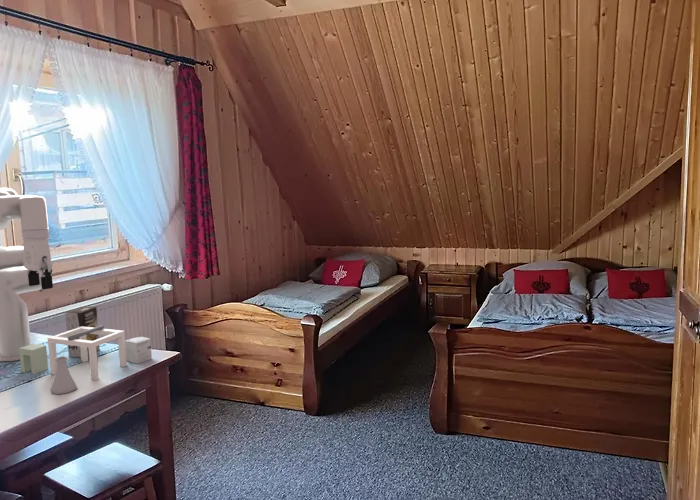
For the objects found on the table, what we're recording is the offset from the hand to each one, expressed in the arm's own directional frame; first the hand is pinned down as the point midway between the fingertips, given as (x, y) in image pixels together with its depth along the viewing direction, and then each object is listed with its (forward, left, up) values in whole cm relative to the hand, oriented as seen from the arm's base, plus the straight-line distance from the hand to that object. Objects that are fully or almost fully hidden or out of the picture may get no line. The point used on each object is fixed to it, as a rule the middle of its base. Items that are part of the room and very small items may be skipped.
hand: (40, 287), depth 183 cm
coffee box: (0, +16, -28) cm, 32 cm away
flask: (+21, -13, -28) cm, 37 cm away
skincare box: (+24, +16, -28) cm, 40 cm away
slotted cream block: (-2, -3, -27) cm, 28 cm away
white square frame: (+15, +3, -27) cm, 31 cm away
